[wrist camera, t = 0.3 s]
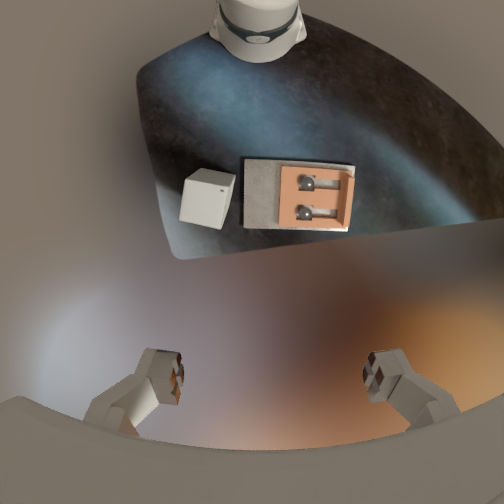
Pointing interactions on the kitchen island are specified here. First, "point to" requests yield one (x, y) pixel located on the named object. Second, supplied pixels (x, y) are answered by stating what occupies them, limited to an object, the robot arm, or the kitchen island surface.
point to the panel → (315, 197)
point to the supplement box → (206, 197)
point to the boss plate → (268, 192)
